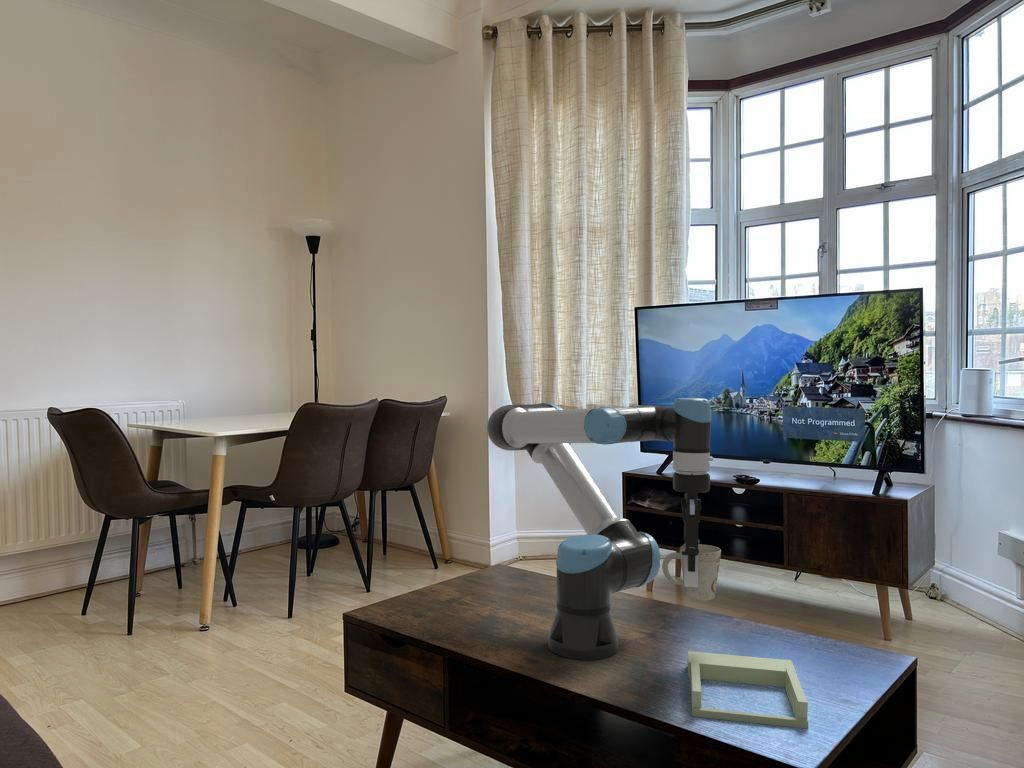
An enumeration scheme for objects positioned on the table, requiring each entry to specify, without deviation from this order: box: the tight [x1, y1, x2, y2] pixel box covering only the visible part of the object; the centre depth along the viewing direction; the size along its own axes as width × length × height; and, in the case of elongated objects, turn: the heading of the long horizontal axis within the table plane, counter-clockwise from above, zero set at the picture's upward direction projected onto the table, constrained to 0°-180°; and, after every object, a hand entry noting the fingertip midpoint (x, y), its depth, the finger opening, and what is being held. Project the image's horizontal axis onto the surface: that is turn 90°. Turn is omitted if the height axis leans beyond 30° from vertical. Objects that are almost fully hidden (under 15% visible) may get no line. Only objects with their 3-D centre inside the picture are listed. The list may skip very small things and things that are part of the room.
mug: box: [661, 543, 722, 601], centre depth 156 cm, size 8×13×10 cm, turn 58°
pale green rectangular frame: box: [687, 650, 809, 729], centre depth 138 cm, size 20×22×4 cm
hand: (690, 580), depth 155 cm, fingers closed on mug, 8 cm apart
